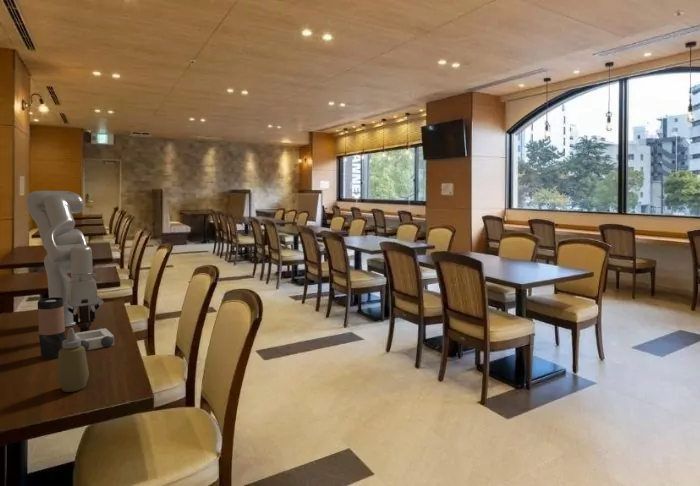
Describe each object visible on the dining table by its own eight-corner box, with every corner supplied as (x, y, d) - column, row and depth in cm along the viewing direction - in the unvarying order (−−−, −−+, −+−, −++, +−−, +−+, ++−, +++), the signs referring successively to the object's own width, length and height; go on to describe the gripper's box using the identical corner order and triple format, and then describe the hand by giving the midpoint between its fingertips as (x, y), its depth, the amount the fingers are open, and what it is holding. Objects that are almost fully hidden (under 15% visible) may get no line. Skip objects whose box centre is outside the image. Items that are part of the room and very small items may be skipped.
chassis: (67, 342, 177) (67, 332, 177) (105, 336, 185) (105, 326, 185) (75, 353, 166) (74, 342, 165) (115, 345, 174) (114, 335, 174)
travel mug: (71, 353, 165) (68, 298, 163) (51, 361, 158) (48, 303, 156) (55, 351, 168) (52, 296, 166) (35, 358, 160) (31, 301, 158)
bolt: (85, 337, 183) (83, 300, 182) (73, 336, 184) (72, 299, 183) (95, 333, 189) (94, 297, 187) (85, 332, 190) (83, 296, 188)
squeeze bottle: (66, 383, 140) (63, 324, 138) (94, 382, 141) (91, 324, 139) (51, 394, 132) (48, 332, 130) (81, 394, 133) (78, 332, 131)
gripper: (103, 273, 192) (105, 317, 194) (55, 278, 182) (58, 323, 184) (108, 276, 187) (110, 321, 189) (58, 281, 176) (61, 328, 178)
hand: (84, 321), depth 186 cm, fingers closed on bolt, 4 cm apart
